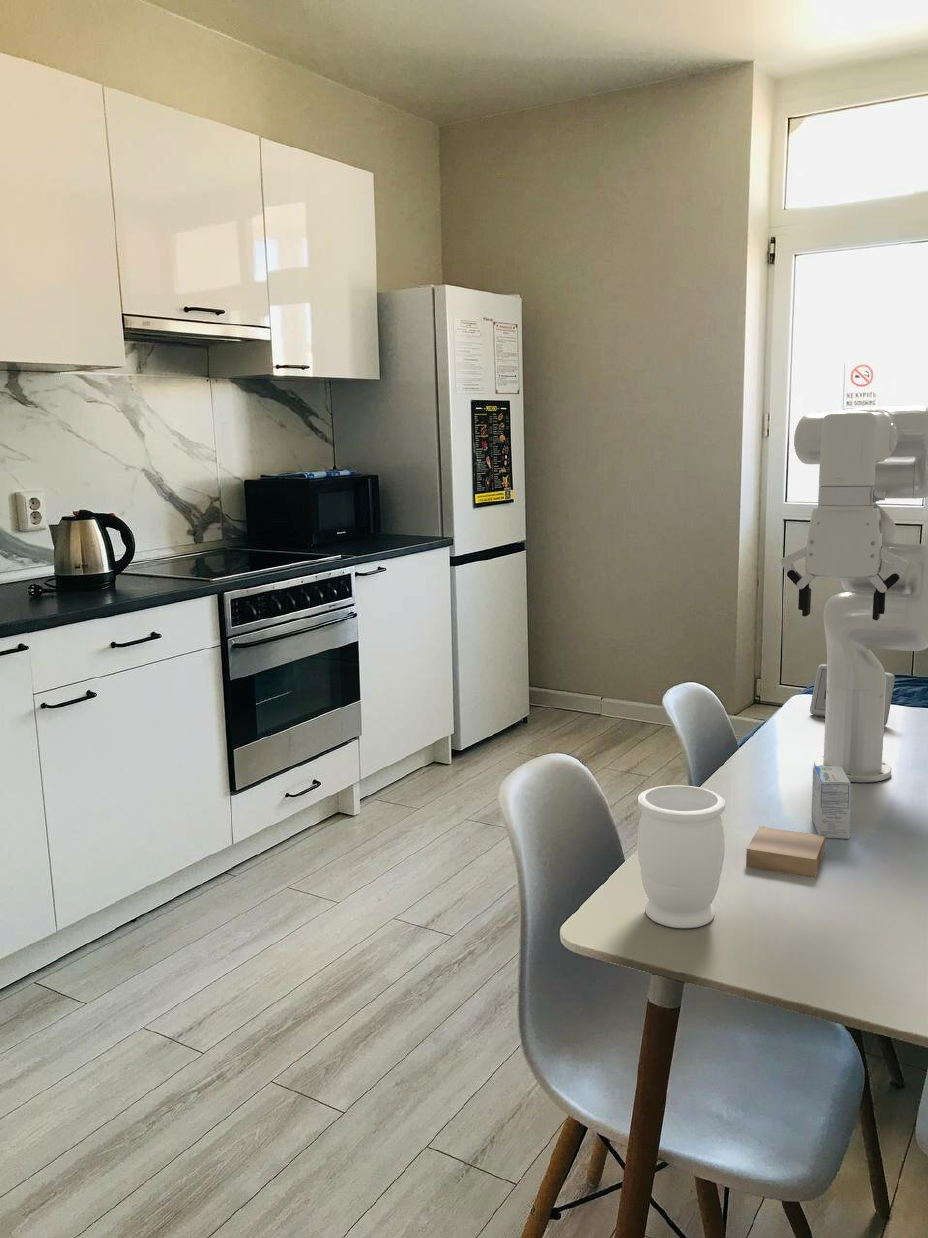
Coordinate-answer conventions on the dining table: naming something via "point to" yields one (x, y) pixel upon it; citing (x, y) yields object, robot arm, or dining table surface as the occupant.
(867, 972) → the dining table surface
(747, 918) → the dining table surface
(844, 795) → the medicine box
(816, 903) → the dining table surface
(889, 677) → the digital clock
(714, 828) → the jar
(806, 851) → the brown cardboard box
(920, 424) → the robot arm
